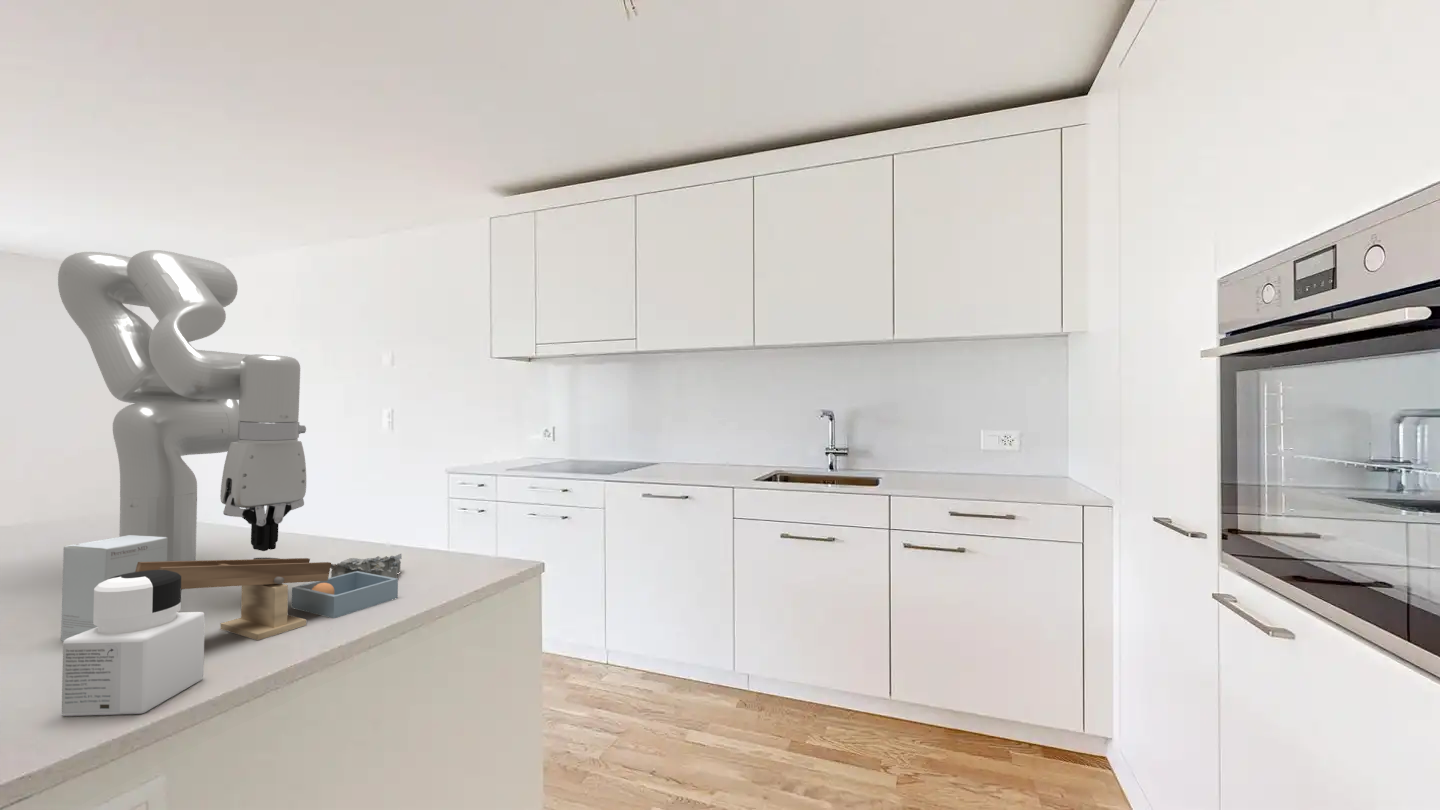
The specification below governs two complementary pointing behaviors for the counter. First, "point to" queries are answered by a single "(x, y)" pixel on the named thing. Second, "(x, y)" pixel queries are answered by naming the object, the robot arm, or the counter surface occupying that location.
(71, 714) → the container
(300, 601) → the dish
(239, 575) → the lever
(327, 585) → the ball
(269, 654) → the counter surface
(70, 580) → the supplement box
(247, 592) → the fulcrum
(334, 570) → the egg carton
